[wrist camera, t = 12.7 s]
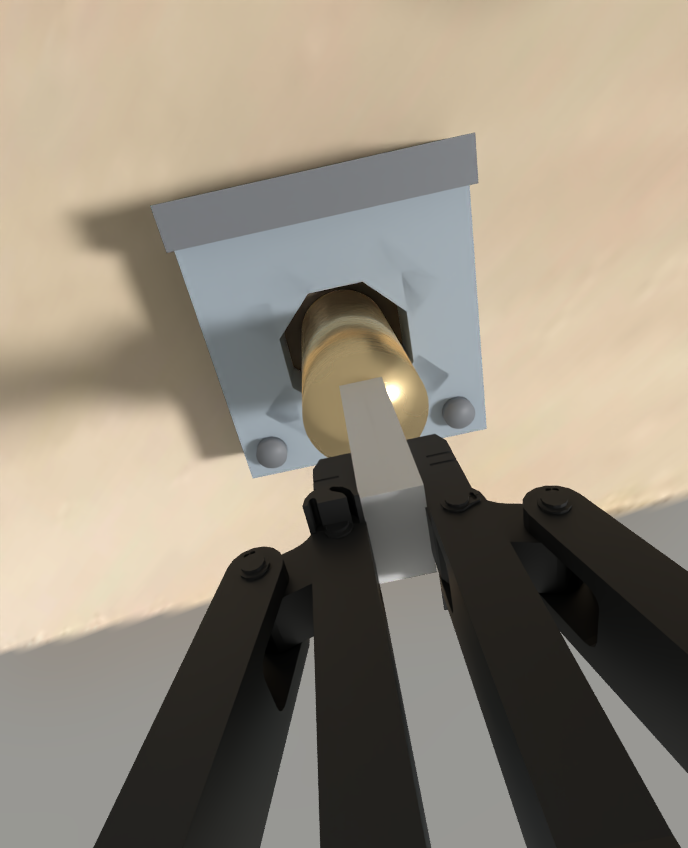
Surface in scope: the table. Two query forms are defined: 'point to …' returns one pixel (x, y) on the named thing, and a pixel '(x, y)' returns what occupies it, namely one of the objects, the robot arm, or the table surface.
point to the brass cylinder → (353, 368)
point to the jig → (334, 282)
